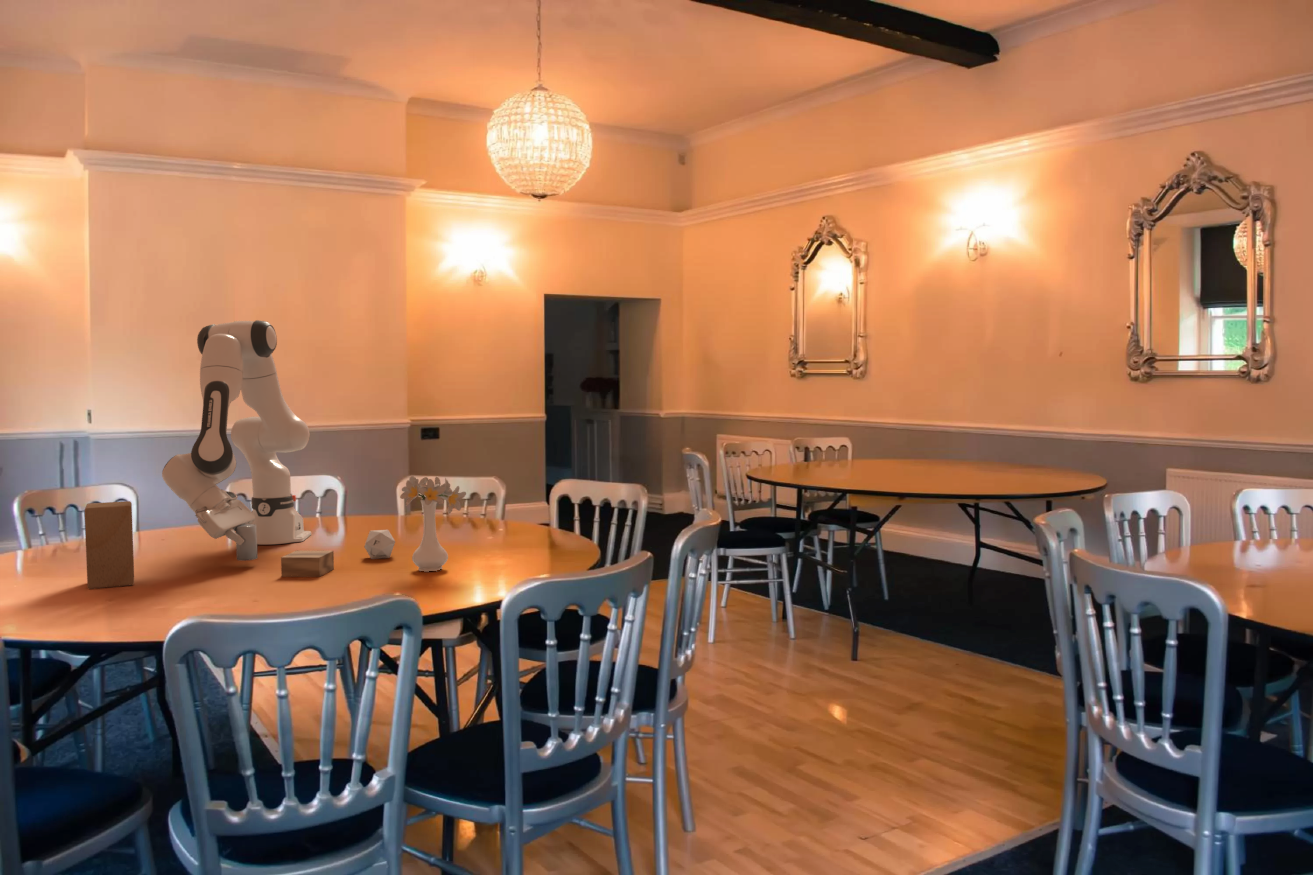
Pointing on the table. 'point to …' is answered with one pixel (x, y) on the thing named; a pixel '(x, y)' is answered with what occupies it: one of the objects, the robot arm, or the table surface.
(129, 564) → the wooden block
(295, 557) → the oak block
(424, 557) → the flower vase
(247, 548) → the grey square pillar
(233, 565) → the table surface
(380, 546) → the die
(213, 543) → the table surface
